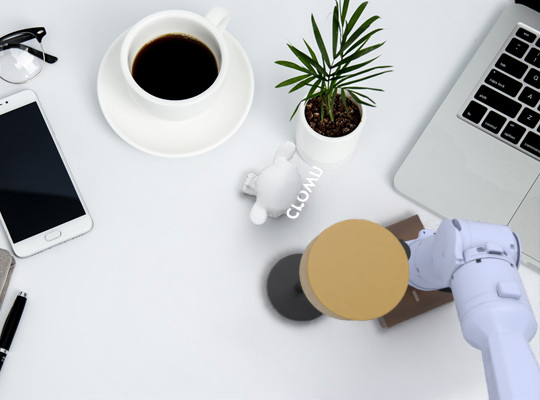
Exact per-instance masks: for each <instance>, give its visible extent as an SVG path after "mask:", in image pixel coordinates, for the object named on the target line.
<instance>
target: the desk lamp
mask: <svg viewBox="0 0 540 400" xmlns="http://www.w3.org/2000/svg"><path fill="white" fill-rule="evenodd" d="M410 256H411V250H410V247H409V246H408V244H407V243H406V242H404V241H402V240H398V239H397V238H396V237H395V236H394V235H393V234H392V233H391V232H390V231H389V230H387V229H386V228H385V227H384V226H383V225H381V224H379V223H377V222H374V221H371V220H367V219H361V218H349V219H345V220H341V221H338V222H335V223H333V224H331V225H330V226H328V227H327V228H325V229H324V230H322V232H320V233H319V234H317V236H315V238H313V239H311V241H310V242H309V243H308V244H307V246H306V248H305V249H304V251H303V253H291V254H288V255H286V256H284V257H282V258H280V259H279V260H277V262H276V263H275V264H274V265H273V266H272V268H271V269H270V271H269V273H268V275H267V278H266V284H265V289H266V296H267V299H268V302H269V303H270V305H271V306H272V308H273V309H274V310H275V311H276V312H277V313H278V314H279V315H280V316H282V317H283V318H285V319H288V320H290V321H295V322H309V321H312V320H316V319H318V318H319V317H321V316H322V315H325V316H327V317H330V318H332V319H335V320H340V321H347V322H348V321H351V322H353V321H355V322H365V321H366V322H367V321H372V320H376V319H378V318H379V317H381V316H383V315H385V314H387V313H388V312H390V311H391V310H392V309H393V308H395V307H396V306H397V304H398V303H399V302H400V301H401V299H402V298H403V296H404V294H405V292H406V289H407V286H408V283H409V262H408V261H409V259H410Z"/></svg>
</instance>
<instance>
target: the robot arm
mask: <svg viewBox="0 0 540 400" xmlns="http://www.w3.org/2000/svg"><path fill="white" fill-rule="evenodd" d="M398 240H402V239H398ZM402 241H403V240H402ZM406 243H407V244H408V246H409V247H410V250H411V256H410V259H409V261H408V262H409V283H408V284H409V285H411V286H413V287H415V288H417V289H420V290H425V291H430V290H436V289H438V290H439V292H447V293H453V297H454V301H453V302H454V306H455V309H456V313H457V318H458V322H459V325H460V329H461V333H462V336H463V339H464V341H465V342H466V343H467V344H468V345H470V346H471V347H473V348H475V349H476V350H478V351H480V353H481V358H482V365H483V371H484V378H485V384H486V390H487V395H488V400H540V364H539V362H538V359H537V358H536V356H535V354H534V352H533V349H532V347H531V345H530V343H531V341H532V340H533V339H534V338H535V337H536V335H537V332H538V327H539V325H538V321H537V318H536V316H535V314H534V310H533V308H532V304H531V301H530V298H529V296H528V294H527V291H526V288H525V285H524V283H523V280H522V277H521V274H520V272H519V269H520V266H521V263H522V254H523V253H522V252H523V250H522V242H521V239H520V237H519V234H517V232H515V231H512V228H511V225H510V224H498V223H492V222H484V221H477V220H471V219H470V220H468V219H463V218H452V219H450V218H448V217H447V218H443V220H441V221H440V223H439V225H438V226H437V229H436V230H434V229H427V228H425V229H423V230H421V231H419V235H418V238H417V239H415V240H410V241H406Z"/></svg>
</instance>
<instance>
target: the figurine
mask: <svg viewBox="0 0 540 400" xmlns="http://www.w3.org/2000/svg"><path fill="white" fill-rule="evenodd" d="M296 151H297V146H296V144H295V143H294V142H292V141H289V140H287V141H284V142H283V143H281V144H280V145H279V146H278V147H277V149H276V151H275V153H274V156H273V160H272V163H271V164H270V165H269V166H267V167H265V168H264V169H262V170H261V171H260V172H259V173H258V175H257V174H255V173H253V172H250V173H247V174H246V179H245V180H244V181H243V186H242V189H241V192H242V193H244V194H246V195H250V196H255V197H256V200H255V202H254V204H253V205H252V207H251V209H250V211H249V220H250V222H251V223H252V224H253V225H255V226H258V227H259V226H264V224H266V222H267V220H268V217H270V218H273V219H276V218H280V217H281V216H282V215H286V216H287V217H288V218H290V219H297V218H298V217H299V215H300V212H301V211H302V208H304V206H305V205H306V206H307V205H308V204H307V203H305V202H307V200H308V199H309V193H312V192H313V191H312V190H311V188H310V187H316V184H314V182H313V181H315V182H317V181H319V179H320V178H321V175H322V174H323V171H324V170H322V169H321V168H320V167H317V166H315V165H313V166H312V168H313V169H315V170H318V171H319V172H320V173H319V174H317V173H315V172H313V171H311V170H310V171H309V174H311V175H312V176H315V177H317V178H315V177H313V178H312V177H305V180H307V181H308V183H304V179H303V178H302V175H301V173H300V171H299V168H298V166H297V165H295V164H294V163H293V162H291V159H293V157H294V156H295V153H296ZM303 187H305V189H306V190H307V191H308V192H309V193H308V192H307V191H305V190H303ZM302 193H303V194H305V195H306V197H305V198H304V199H302V198H301V194H302ZM297 205H300V206H297ZM294 209H296V210H298V211H300V212H298V211H296V215H290V212H291V211H293V210H294Z"/></svg>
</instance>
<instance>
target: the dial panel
mask: <svg viewBox="0 0 540 400" xmlns="http://www.w3.org/2000/svg"><path fill="white" fill-rule="evenodd" d="M384 228H386V229H387V230H389V231H390V232H391V233H392V234H393V235H394V236H395V237H396V238H397V239H402V240H403V241H404V242H406V241H410V240H415V239H417V238H418V235H419V231H421V230H423V229H426V228H425V226H424V225H423V222H422V220H421V218H420V216H419V214H414V215H412V216H409V217H407V218H404V219H402V220H399V221H397V222H395V223H392V224H390V225H386V226H385V227H384ZM452 302H455V301H454V297H453V293H447V292H439V290H438V289H436V290H430V291H425V290H420V289H417V288H415V287H413V286H409V287H407V289H406V292H405V294H404V296H403V298H402V299H401V301H400V302H399V303H398V304H397V306H396V307H395V308H393V309H392V310H391V311H390V312H388V313H387V314H385V315H383V316H381V317H379V318H377V319H378V321H379V324H380V325H381V326H380V327H381V328H385V329H389V328H392V327H394V326H396V325H399V324H401V323H404V322H407V321H408V320H411V319H414V318H416V317H418V316H421V315H423V314H425V313H428V312H430V311H432V310H435V309H438V308H439V307H442V306H444V305H447V304H450V303H452Z"/></svg>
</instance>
